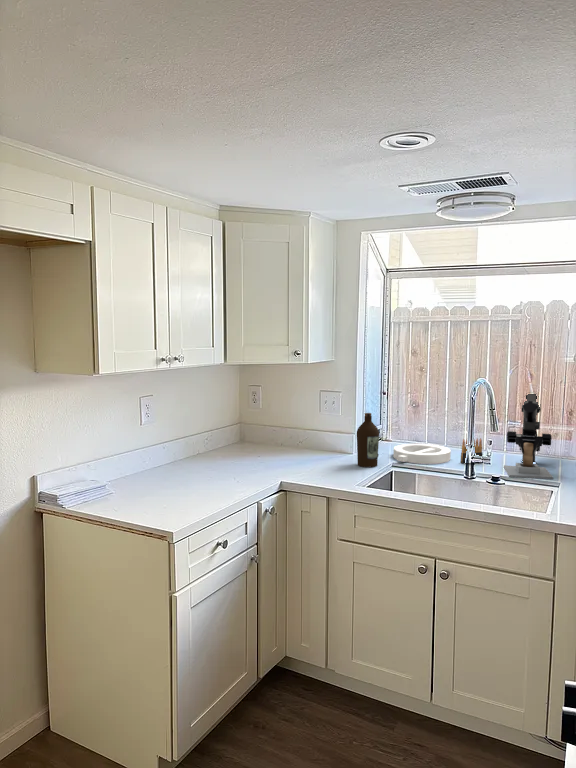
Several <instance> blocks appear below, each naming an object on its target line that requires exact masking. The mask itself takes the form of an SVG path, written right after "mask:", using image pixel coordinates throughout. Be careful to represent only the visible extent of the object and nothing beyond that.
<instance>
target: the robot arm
mask: <svg viewBox="0 0 576 768" xmlns="http://www.w3.org/2000/svg"><path fill="white" fill-rule="evenodd" d="M536 394H537V393H536ZM536 394H528V395H525V396H526V399H527V401H525V402H524V405H523V404H522V405H521V413H522V414H523V415H522V416H523V417H522V418H523V419H522V431H521V433H517V431H510V430H509V431H508V430H507V432H506V434H507V435H506V442H507V443H511V444H512V443H513V444H516V445H517V446H518V447H519V451H521V454H522V459H521V460H522V461H523V453H524V443H533V462H536V452H537V453H539V452H540V451H541V447H542V446H551V445H552V438H553V437H552V434H551V433H542V434H541V436H538V432H537V431H538V430H541V428H540V426H541V424H540V421H537V420H538V419H537V418H538V417H537V416H538V414H539V413H541V409H542V408H541V406H540V407H539V405H538V402H536V399H537V396H538V395H537V396H536Z"/></svg>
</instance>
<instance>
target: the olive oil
mask: <svg viewBox="0 0 576 768" xmlns="http://www.w3.org/2000/svg"><path fill="white" fill-rule="evenodd" d="M363 418H364V420H363V422H362V423H361V424H360V425H359V426H358V428H357V430H356V454H357V458H356V459H357V466H358V467H362V468H376V467H377V466H378V460H379V459H378V458H379V442H380V440H379V439H380V431H379V428H378V427H377V426H376V424H374V422H373V421H372V413H371V412H364V417H363Z"/></svg>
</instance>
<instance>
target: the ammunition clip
mask: <svg viewBox="0 0 576 768" xmlns="http://www.w3.org/2000/svg"><path fill="white" fill-rule="evenodd" d="M473 439H474V447H475V453H476V455H479V456H482V457H483V442H482V441H483V440H482V438H481V437H480V439H479V438H476V439H475V438H473ZM466 444H467V439H466V440H465V439H464V438H463V439H462V445H461V453H460V464H464V463H465V458H466V451H467V449H466ZM465 464H466V463H465Z"/></svg>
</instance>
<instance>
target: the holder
mask: <svg viewBox="0 0 576 768" xmlns="http://www.w3.org/2000/svg"><path fill="white" fill-rule="evenodd" d="M503 468H505V469H504V470H505V472H506V473H507V476H508V478H521V479H526V478H527V479H538V480H539V479H540V480H542V479H543V480H554V476H553V475H552V474H551V473H550V471H549V470H548V469H547V468H546V467H545V466H544V467H541V466H539V464H538V463H537V464H533V467H523V463H522V462H515V465H503Z"/></svg>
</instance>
